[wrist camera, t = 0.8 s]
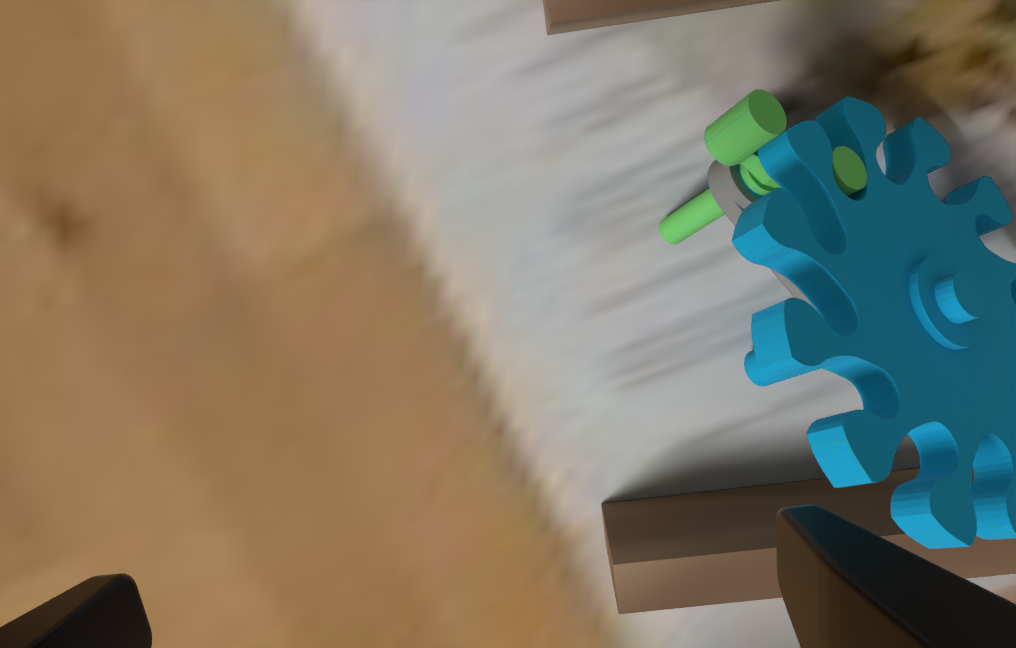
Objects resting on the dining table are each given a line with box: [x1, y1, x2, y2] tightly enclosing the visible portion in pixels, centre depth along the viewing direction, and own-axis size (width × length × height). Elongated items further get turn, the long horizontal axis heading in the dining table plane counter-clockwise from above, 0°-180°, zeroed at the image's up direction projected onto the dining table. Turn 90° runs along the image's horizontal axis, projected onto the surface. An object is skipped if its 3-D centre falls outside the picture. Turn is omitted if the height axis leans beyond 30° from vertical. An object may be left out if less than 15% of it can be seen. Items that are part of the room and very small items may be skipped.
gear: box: [659, 90, 1016, 549], centre depth 18 cm, size 11×6×10 cm
